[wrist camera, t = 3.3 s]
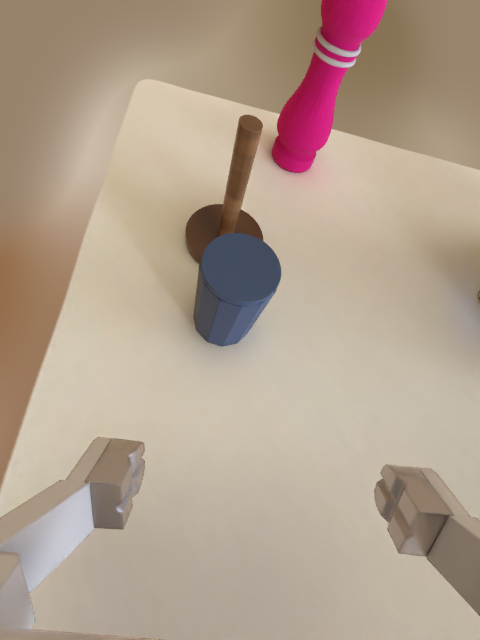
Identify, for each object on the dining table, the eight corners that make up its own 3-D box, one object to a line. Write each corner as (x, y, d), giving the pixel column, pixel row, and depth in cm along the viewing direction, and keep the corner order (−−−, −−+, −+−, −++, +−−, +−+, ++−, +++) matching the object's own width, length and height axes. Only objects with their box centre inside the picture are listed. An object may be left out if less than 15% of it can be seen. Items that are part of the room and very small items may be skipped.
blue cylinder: (223, 284, 30) (241, 220, 21) (260, 321, 29) (296, 271, 20) (182, 315, 27) (183, 259, 18) (221, 357, 26) (243, 319, 17)
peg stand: (224, 200, 34) (249, 73, 22) (275, 247, 33) (330, 139, 21) (169, 233, 31) (161, 103, 18) (223, 287, 29) (253, 186, 17)
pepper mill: (322, 161, 41) (433, -50, 23) (297, 183, 38) (402, -40, 20) (286, 134, 42) (365, -91, 24) (258, 153, 39) (326, -88, 21)
